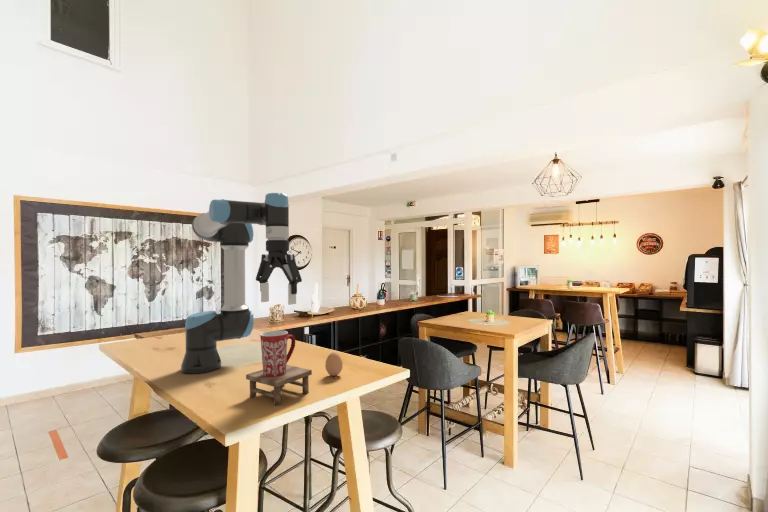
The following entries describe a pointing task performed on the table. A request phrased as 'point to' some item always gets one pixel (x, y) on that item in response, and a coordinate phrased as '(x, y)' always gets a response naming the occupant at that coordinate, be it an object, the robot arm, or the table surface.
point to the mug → (275, 352)
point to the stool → (279, 382)
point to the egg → (333, 364)
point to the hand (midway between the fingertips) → (278, 303)
